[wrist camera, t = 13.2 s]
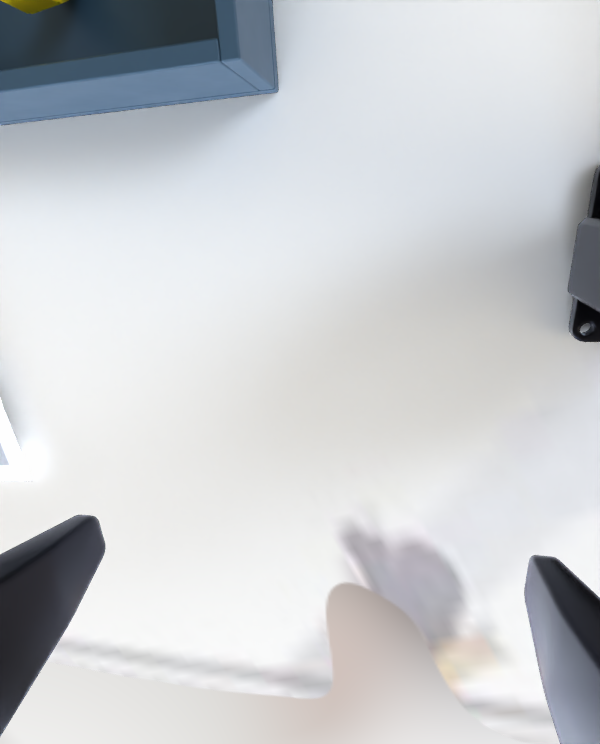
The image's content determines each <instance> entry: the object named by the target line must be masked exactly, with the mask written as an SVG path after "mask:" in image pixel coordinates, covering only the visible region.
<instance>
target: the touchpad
mask: <svg viewBox="0 0 600 744" xmlns="http://www.w3.org/2000/svg"><path fill="white" fill-rule="evenodd" d="M0 481H33V480H32V478H31V475H30V473H29V470H28V468H27V465H26V463H25V460H24V457H23V455H22V452H21V450H20V447H19V445H18V442H17V440H16V437H15V435H14V432H13V430H12V427H11V425H10V422H9V420H8V417H7V414H6V412H5V409H4V407H3V404H2V402H1V399H0Z"/></svg>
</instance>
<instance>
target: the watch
mask: <svg viewBox="0 0 600 744" xmlns="http://www.w3.org/2000/svg"><path fill="white" fill-rule="evenodd" d="M0 1H2V2H4V3H6V4H9V5H11V6H13V7H15V8H17V9H19V10H21V11H23V12H25V13H27V14H29V13H31V14H34V13H37V12H40V11H42V10H45V9H48V8H51V7H54V6H56V5H59V4H62V3H64V2H66V1H68V0H0Z"/></svg>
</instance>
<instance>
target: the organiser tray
mask: <svg viewBox="0 0 600 744" xmlns="http://www.w3.org/2000/svg"><path fill="white" fill-rule="evenodd" d="M278 90H279V89H278V75H277V61H276V46H275V32H274V18H273V4H272V0H68V1H66V2H64V3H62V4H59V5H56V6H54V7H51V8H48V9H45V10H42V11H40V12H37V13H34V14H31V13H29V14H27V13H25V12H23V11H21V10H19V9H17V8H15V7H13V6H11V5H9V4H6V3H4V2H2V1H0V125H7V124H16V123H24V122H32V121H41V120H49V119H57V118H66V117H74V116H83V115H91V114H99V113H108V112H116V111H125V110H133V109H141V108H150V107H158V106H166V105H175V104H183V103H192V102H200V101H208V100H217V99H225V98H233V97H242V96H250V95H259V94H267V93H275V92H278Z"/></svg>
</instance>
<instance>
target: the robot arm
mask: <svg viewBox="0 0 600 744" xmlns="http://www.w3.org/2000/svg"><path fill="white" fill-rule="evenodd" d="M568 292H569V293H570V294H571V295H572V296H573V297H574V299H573V305H572V311H571V317H570V323H569V332H570V333H571V335H572V336H573V337H574V338H576V339H577V340H579V341H583V342H600V165H599V167H598V168H597V169H596V172H595V174H594V179H593V185H592V191H591V197H590V203H589V209H588V215H587V218H585V219H584V220H583V221H582V222H581V223H579V225H578V229H577V235H576V241H575V247H574V254H573V260H572V266H571V272H570V279H569V285H568ZM586 323H590V328H589V330H588V331H586V332H583V333H580V327H581V326H582V325H583V324H586ZM104 552H105V541H104V538H103V534H102V531H101V527H100V524H99V521H98V519H97V518H96V517H94V516H90V515H76V516H74V517H72V518H70V519H68V520H66V521H64V522H63V523H61V524H59V525H57V526H55V527H53V528H51V529H49V530H47V531H45V532H43V533H41V534H39V535H37V536H35V537H33V538H32V539H30V540H28V541H26V542H24V543H22V544H20V545H18V546H16V547H14V548H12V549H10V550H8V551H6V552H4V553H2V554H1V555H0V736H1V735H2V733H3V731H4V730H5V728H6V726H7V725H8V723H9V722H10V720H11V718H12V717H13V715H14V713H15V712H16V710H17V709H18V707H19V705H20V704H21V702H22V700H23V699H24V697H25V696H26V694H27V692H28V691H29V689H30V687H31V686H32V684H33V682H34V681H35V679H36V677H37V676H38V674H39V672H40V671H41V669H42V668H43V666H44V664H45V663H46V661H47V660H48V658H49V656H50V655H51V653H52V651H53V650H54V648H55V646H56V645H57V643H58V642H59V640H60V638H61V637H62V635H63V633H64V632H65V630H66V628H67V627H68V625H69V623H70V621H71V619H72V618H73V616H74V614H75V612H76V610H77V608H78V606H79V604H80V602H81V600H82V598H83V596H84V594H85V592H86V590H87V588H88V586H89V584H90V582H91V580H92V578H93V576H94V574H95V572H96V570H97V568H98V566H99V564H100V562H101V560H102V558H103V555H104ZM525 602H526V607H527V612H528V617H529V622H530V627H531V632H532V636H533V641H534V646H535V651H536V656H537V661H538V666H539V671H540V675H541V680H542V684H543V689H544V693H545V696H546V700H547V703H548V707H549V710H550V713H551V716H552V719H553V723H554V726H555V729H556V732H557V735H558V738H559V742H560V744H600V598H599V597H598V596H597V595H596V594H595V593H594V592H593V591H592V590H591V589H590V588H589V587H588V586H586V585H585V584H584V583H583V582H582V581H581V580H580V579H579V578H578V577H577V576H576V575H575V574H574V573H573V572H571V571H570V570H569V569H568V568H567V567H566V566H565V565H564V564H563V563H562V562H561V561H560V560H558V559H557V558H555V557H550V556H539V555H534V556H532V557H531V558H530V560H529V565H528V571H527V577H526V583H525Z"/></svg>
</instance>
